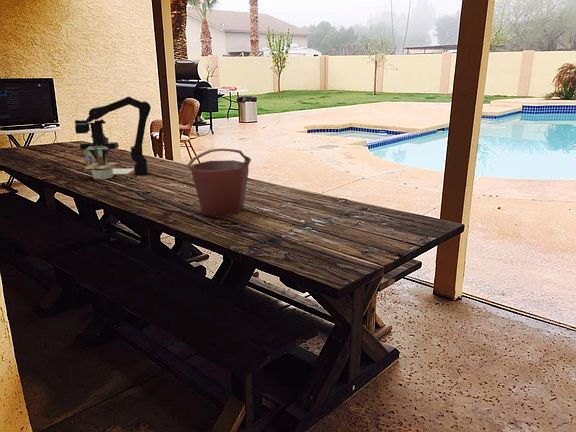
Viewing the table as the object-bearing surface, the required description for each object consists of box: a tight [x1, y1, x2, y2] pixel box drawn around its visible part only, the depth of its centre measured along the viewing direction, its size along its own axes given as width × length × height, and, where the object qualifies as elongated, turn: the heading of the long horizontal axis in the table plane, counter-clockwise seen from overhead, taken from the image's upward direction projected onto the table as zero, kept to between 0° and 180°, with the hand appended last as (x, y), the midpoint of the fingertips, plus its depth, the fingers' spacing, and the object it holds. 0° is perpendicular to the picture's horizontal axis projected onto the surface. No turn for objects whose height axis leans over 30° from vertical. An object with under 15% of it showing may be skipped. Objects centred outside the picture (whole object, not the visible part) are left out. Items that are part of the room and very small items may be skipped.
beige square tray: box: [84, 157, 119, 170], centre depth 257 cm, size 13×13×5 cm
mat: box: [112, 167, 135, 175], centre depth 274 cm, size 15×15×1 cm
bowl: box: [91, 167, 114, 180], centre depth 259 cm, size 10×10×5 cm
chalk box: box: [83, 142, 108, 167], centre depth 286 cm, size 9×9×15 cm
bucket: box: [187, 148, 252, 218], centre depth 191 cm, size 24×22×25 cm
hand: (101, 162), depth 257 cm, fingers closed on beige square tray, 3 cm apart
